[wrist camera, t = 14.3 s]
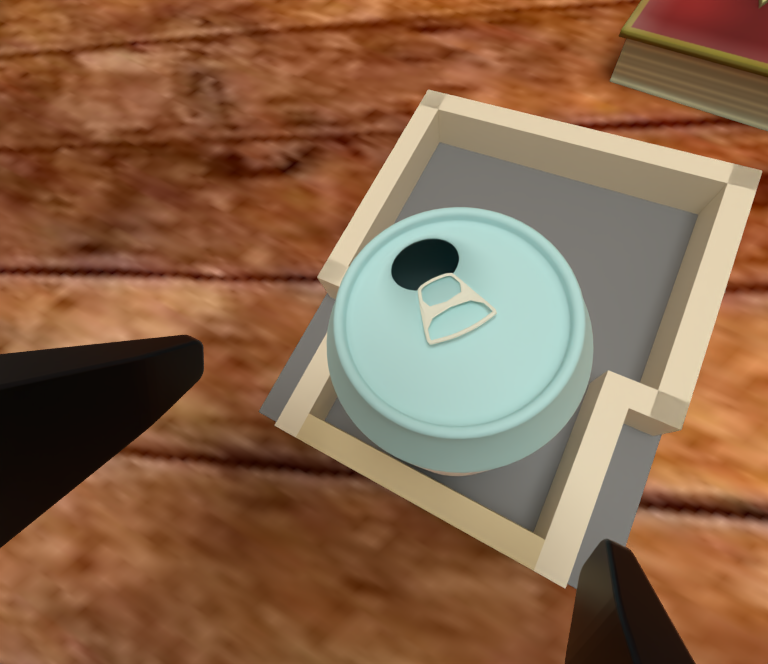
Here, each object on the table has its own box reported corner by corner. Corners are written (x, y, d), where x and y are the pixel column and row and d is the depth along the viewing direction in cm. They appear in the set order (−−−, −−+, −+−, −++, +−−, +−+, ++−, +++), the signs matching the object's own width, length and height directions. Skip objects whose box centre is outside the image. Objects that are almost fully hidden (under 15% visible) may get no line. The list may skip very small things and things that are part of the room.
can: (358, 431, 21) (250, 374, 10) (422, 314, 22) (393, 150, 11) (488, 505, 19) (541, 542, 8) (549, 371, 20) (666, 241, 9)
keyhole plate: (598, 598, 18) (630, 625, 15) (266, 414, 23) (235, 403, 20) (724, 216, 23) (769, 172, 19) (427, 134, 28) (423, 88, 25)
